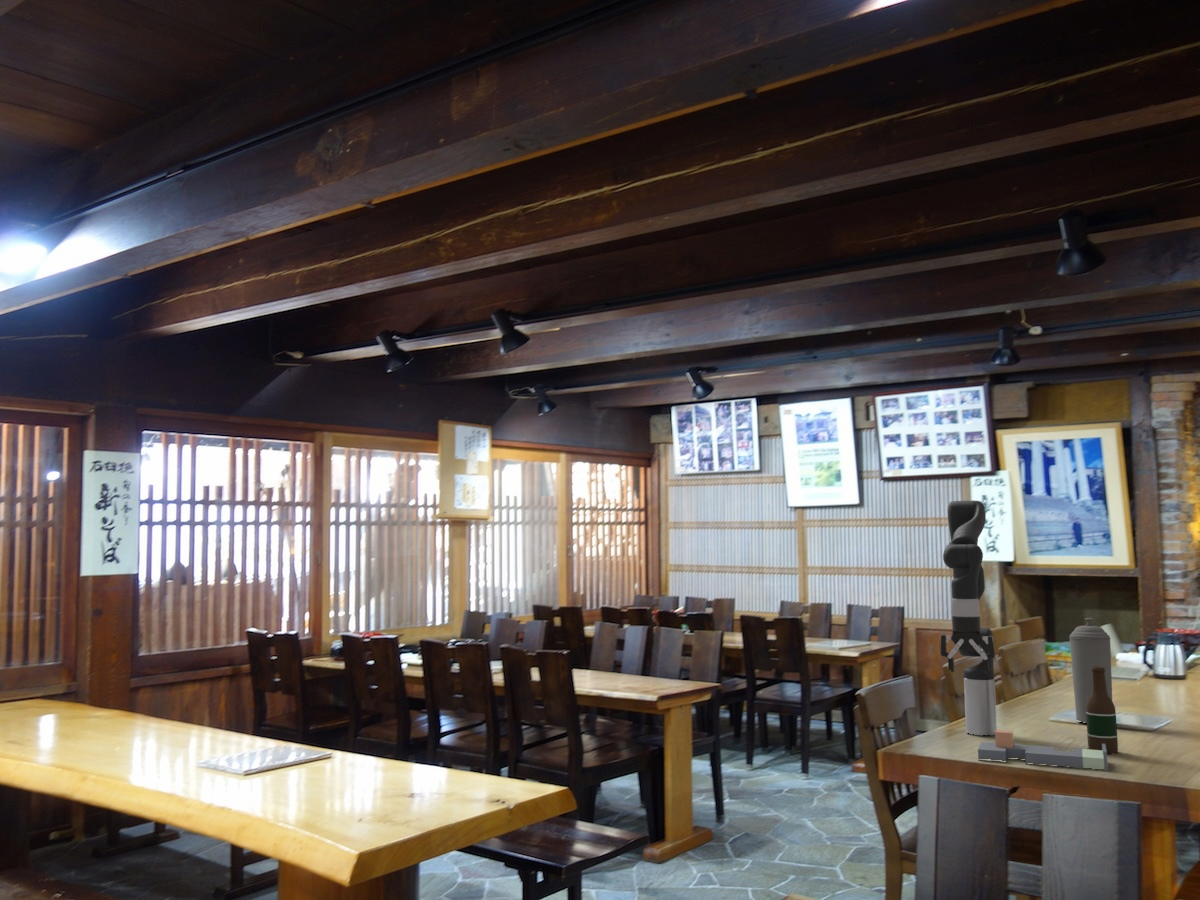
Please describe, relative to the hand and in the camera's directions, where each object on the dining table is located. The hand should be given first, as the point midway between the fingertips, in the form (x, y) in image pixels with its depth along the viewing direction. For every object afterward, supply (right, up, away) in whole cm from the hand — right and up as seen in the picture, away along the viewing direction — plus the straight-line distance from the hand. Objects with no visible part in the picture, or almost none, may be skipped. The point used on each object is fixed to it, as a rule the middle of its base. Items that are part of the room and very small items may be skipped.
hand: (968, 672), depth 277 cm
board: (+17, -22, -8) cm, 29 cm away
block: (+10, -20, -2) cm, 22 cm away
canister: (+62, -29, +52) cm, 86 cm away
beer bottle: (+40, -24, +4) cm, 47 cm away
